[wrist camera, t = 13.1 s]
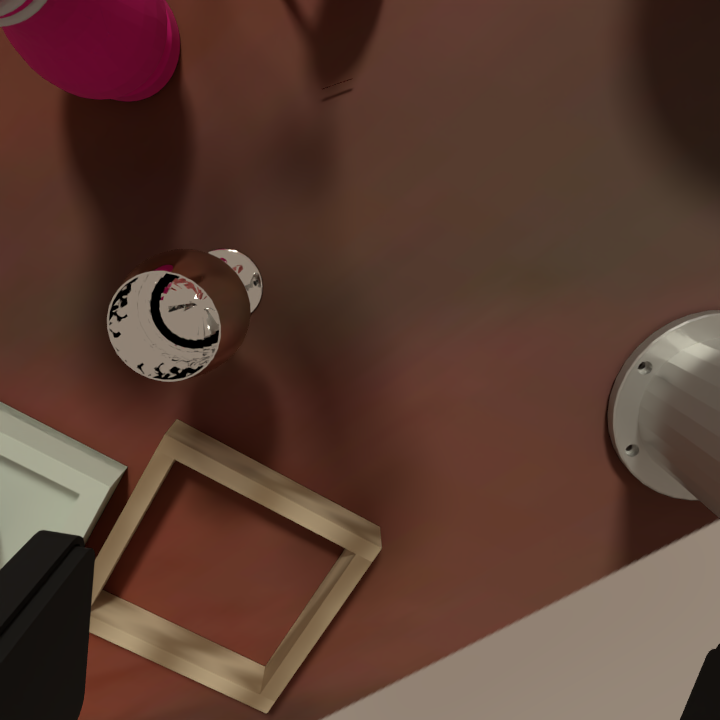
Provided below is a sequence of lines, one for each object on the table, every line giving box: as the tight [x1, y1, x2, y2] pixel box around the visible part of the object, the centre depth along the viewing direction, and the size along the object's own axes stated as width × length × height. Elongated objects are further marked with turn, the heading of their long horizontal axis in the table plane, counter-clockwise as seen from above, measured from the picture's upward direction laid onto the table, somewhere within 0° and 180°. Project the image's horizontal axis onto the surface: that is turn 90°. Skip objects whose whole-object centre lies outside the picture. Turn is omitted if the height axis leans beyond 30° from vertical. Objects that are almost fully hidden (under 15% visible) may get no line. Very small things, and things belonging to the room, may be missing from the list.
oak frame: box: [89, 419, 382, 714], centre depth 39 cm, size 15×15×2 cm
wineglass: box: [107, 248, 263, 382], centre depth 29 cm, size 6×6×12 cm
